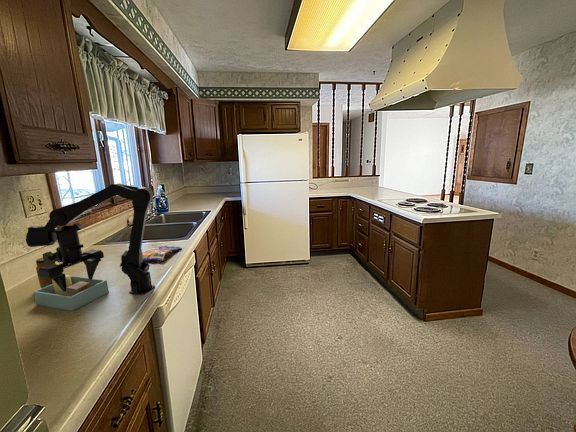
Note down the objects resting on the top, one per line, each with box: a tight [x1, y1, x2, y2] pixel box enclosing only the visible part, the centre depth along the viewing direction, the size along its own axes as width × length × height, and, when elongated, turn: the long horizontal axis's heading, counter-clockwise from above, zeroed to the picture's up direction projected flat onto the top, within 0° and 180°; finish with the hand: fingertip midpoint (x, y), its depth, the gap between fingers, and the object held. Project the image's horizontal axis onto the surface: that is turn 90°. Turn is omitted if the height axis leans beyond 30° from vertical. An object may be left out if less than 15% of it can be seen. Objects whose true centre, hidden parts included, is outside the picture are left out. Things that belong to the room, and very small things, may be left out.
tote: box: [33, 275, 110, 312], centre depth 98 cm, size 13×17×5 cm
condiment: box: [35, 257, 57, 291], centre depth 107 cm, size 7×8×12 cm
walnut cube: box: [66, 281, 92, 297], centre depth 97 cm, size 5×5×5 cm
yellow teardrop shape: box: [52, 274, 72, 296], centre depth 99 cm, size 5×5×7 cm
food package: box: [142, 245, 183, 264], centre depth 140 cm, size 22×25×4 cm
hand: (78, 285), depth 96 cm, fingers open, 9 cm apart
